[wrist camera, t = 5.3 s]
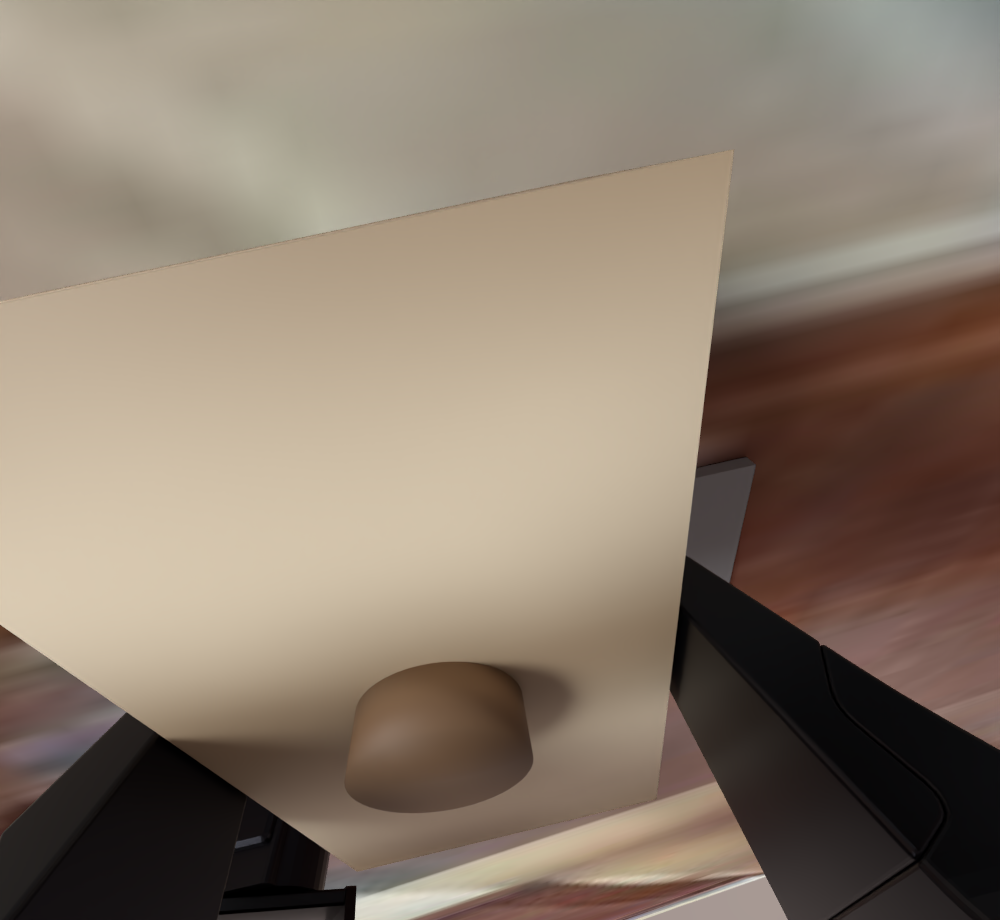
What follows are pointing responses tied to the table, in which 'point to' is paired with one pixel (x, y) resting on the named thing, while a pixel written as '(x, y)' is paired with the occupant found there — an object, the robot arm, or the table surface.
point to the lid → (380, 503)
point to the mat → (719, 514)
